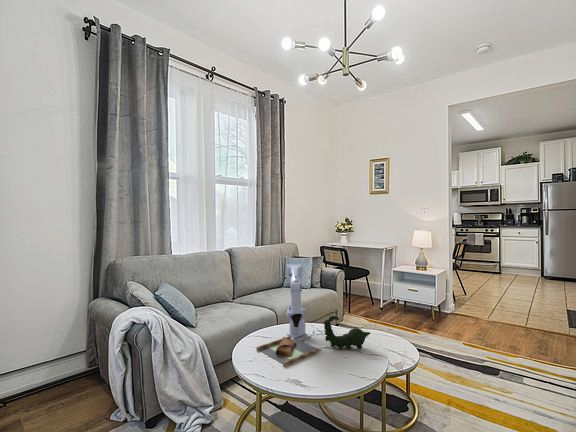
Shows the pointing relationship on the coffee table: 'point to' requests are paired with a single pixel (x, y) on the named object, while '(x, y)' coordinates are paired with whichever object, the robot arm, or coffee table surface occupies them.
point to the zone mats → (297, 350)
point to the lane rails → (292, 358)
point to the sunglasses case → (285, 347)
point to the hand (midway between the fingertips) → (296, 326)
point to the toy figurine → (344, 336)
